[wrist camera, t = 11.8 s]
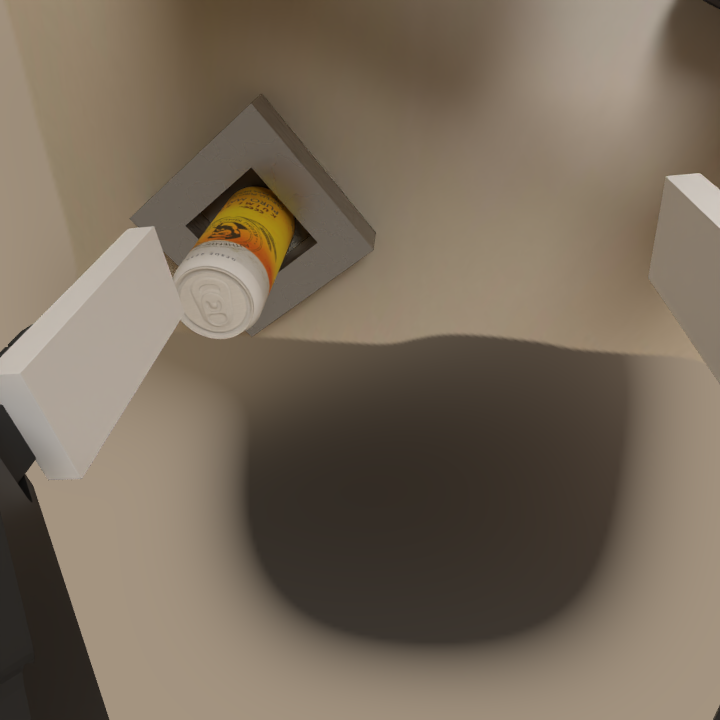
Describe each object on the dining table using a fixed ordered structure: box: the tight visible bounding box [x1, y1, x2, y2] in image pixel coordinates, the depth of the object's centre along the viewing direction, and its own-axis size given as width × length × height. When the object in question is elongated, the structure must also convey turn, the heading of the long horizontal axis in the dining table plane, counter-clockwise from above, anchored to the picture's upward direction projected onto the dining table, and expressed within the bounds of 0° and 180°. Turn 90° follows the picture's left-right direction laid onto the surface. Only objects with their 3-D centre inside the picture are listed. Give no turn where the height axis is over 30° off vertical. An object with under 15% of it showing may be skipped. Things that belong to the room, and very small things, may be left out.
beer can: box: [173, 187, 295, 339], centre depth 44 cm, size 6×6×15 cm
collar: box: [130, 94, 376, 336], centre depth 48 cm, size 14×14×4 cm
